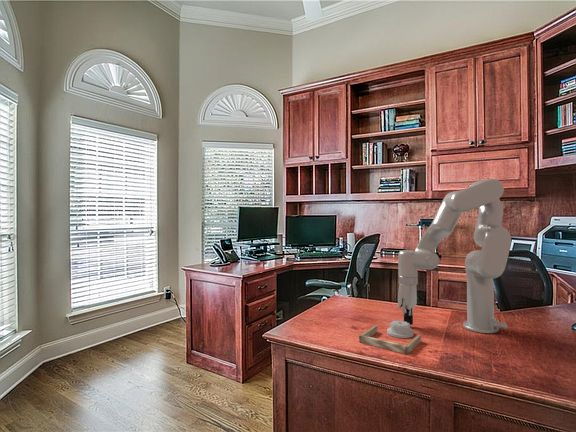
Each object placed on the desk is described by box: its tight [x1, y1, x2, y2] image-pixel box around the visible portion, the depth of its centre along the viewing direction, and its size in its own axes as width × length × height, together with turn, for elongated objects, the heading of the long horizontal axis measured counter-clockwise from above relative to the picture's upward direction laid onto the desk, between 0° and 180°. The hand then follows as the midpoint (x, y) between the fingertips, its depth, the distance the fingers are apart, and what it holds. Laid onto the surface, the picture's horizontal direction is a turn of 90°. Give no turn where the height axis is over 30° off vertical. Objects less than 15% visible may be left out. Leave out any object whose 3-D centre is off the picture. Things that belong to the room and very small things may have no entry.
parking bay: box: [358, 324, 422, 355], centre depth 126 cm, size 18×14×2 cm
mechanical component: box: [386, 320, 415, 339], centre depth 134 cm, size 10×4×10 cm
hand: (408, 324), depth 141 cm, fingers closed
